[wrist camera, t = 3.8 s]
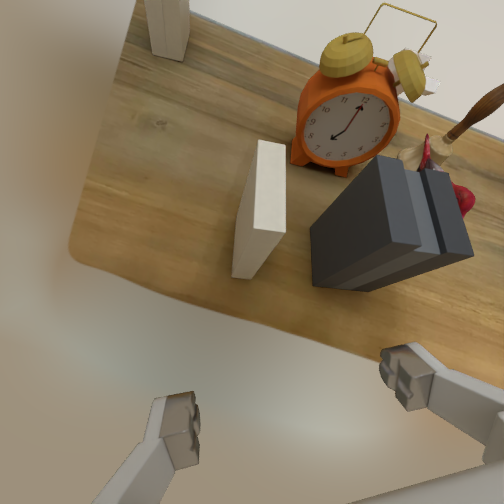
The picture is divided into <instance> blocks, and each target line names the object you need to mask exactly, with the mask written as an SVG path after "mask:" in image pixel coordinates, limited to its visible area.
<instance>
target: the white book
mask: <svg viewBox="0 0 504 504" xmlns="http://www.w3.org/2000/svg"><path fill="white" fill-rule="evenodd" d="M285 233H286V145H283V144H278V143H273V142H268V141H263V140H258V142H257V146H256V149H255V153H254V156H253V160H252V164H251V167H250V171H249V174H248V178H247V181H246V185H245V188H244V192H243V195H242V199H241V202H240V206H239V210H238V213H237V217H236V228H235V240H234V251H233V263H232V274H231V277H232V278H242V279H252V277H253V276H254V275H255V273H256V272H257V271H258V269H259V268H260V267H261V265H262V264H263V263H264V261H265V260H266V258H267V257H268V256H269V254H270V253H271V252H272V250H273V249H274V248H275V246H276V245H277V244H278V242H279V241H280V240H281V238H282V237H283V236H284V234H285Z"/></svg>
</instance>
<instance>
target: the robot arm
mask: <svg viewBox="0 0 504 504" xmlns="http://www.w3.org/2000/svg"><path fill="white" fill-rule="evenodd" d="M380 357H381V358H382V359H383V360H382V361H381V363H380V364H379V371H380V374H381V378H382V379H383V381H384V383H385V384H386V385H387V387H388V388H390V389H392V390H394V391H395V396H396V398H397V399H398V401H399V402H400V403H401V404H402V406H403V407H404V408H405V409H406V411H413V410H418V409H422V408H426V407H428V408H427V409H429V410H430V411H432V412H433V413H435V414H436V415H438V416H440V417H441V418H443V419H444V420H446V421H447V422H449V423H451V424H452V425H454V426H455V427H457V428H458V429H460V430H461V431H463V432H464V433H466V434H468V435H469V436H471V437H472V438H474V439H476V440H477V441H479V442H480V443H482V444H483V445H485V446H486V447H485V450H484V453H483V456H482V459H483V462H484V463H485V465H481V466H478V467H474V468H471V469H467V470H464V471H460V472H457V473H453V474H450V475H446V476H443V477H439V478H436V479H432V480H429V481H425V482H422V483H418V484H415V485H411V486H408V487H404V488H401V489H398V490H394V491H390V492H387V493H383V494H380V495H376V496H373V497H369V498H366V499H362V500H359V501H355V502H352V503H348V504H504V390H503V389H500V388H498V387H495V386H493V385H490V384H488V383H485V382H483V381H480V380H478V379H476V378H473V377H471V376H468V375H466V374H463V373H461V372H458V371H456V370H454V369H451V370H449V369H448V368H447V367H445V366H444V365H443V364H442V363H441V362H440V361H438V360H437V359H436V358H435V357H434V356H433V355H431V354H430V353H429V352H428V351H427V350H426V349H424V348H423V347H422V346H421V345H420V344H418V343H416V342H412V343H407V344H404V345H398V346H394V347H389V348H385V349H382V350H381V353H380ZM195 399H196V397H195V394H194V391H190V392H185V393H180V394H174V395H169V396H165V397H159V398H155V399H154V401H153V403H152V406H151V410H150V414H149V418H148V422H147V426H146V431H145V434H144V438H143V442H141V443H138V444H137V446H136V447H135V448H134V450H133V451H132V452H131V453H130V455H129V456H128V457H127V459H126V460H125V461H124V462H123V464H122V465H121V466H120V467H119V469H118V470H117V471H116V473H115V474H114V475H113V476H112V478H111V479H110V480H109V481H108V483H107V484H106V485H105V487H104V488H103V489H102V490H101V492H100V493H99V494H98V496H97V497H96V498H95V499H94V501H93V502H92V503H91V504H159V503H160V501H161V499H162V497H163V495H164V493H165V491H166V490H167V488H168V485H169V484H170V482H171V480H172V478H173V476H174V474H175V471H176V470H179V469H183V468H186V467H190V466H193V465H197V464H199V446H200V444H199V441H198V437H197V436H198V435H199V433H200V413H199V408H198V405H197V404H195Z"/></svg>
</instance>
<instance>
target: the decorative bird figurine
mask: <svg viewBox="0 0 504 504" xmlns="http://www.w3.org/2000/svg"><path fill="white" fill-rule="evenodd" d="M424 168H427V169H432V170H436V171H441V172H444V171H443V169H442V168H441V167H440V166H439V165H438V164H437V163H435V162H434V161H433V160H431V157H430V145H429V136H428V134H427V135H426V138H425V144H424V149H423V156H422V160H421V163H420V164H419V167H418V169H417V171H416V172H420V171H422V170H423V169H424ZM451 183H452V186H453V189H454V192H455V195H456V199H457V202H458V205H459V208H460V211H461V214H462V218H464V216H465V214H466V213H467V212H468V211H469V210H470V209H471V208H472V207H473V206H474V203H475V196H474V194H473V193H472V192H471V191H469V190H468V189H467V188H465V187H463V186H458V185H455V184H454V183H453V182H452V181H451Z"/></svg>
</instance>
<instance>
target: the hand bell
mask: <svg viewBox="0 0 504 504" xmlns="http://www.w3.org/2000/svg"><path fill="white" fill-rule="evenodd" d="M503 103H504V84H502V85H500V86H498V87H497V88H495V89H493V90H492V91H490V92H489V93H487V94H486V95H485V96H483V98H481V99H480V100H479V101H478V102H477V103H476V104H475V105H474V107H472V109H471V110H470V111H469V112H468V114H467V115H466V117H465V118H464V119H463V120H462V121H461V122H460V123H459V124H457V125H456V126H455V127H454V128H453V129H452V130H450V131H449V132H448V133H447V134H446V135H445V136H443V137H442V136H432V137H430V138H429V145H430V157H431V160H433V161H434V162H435V163H437V164H438V165H439V166H441V164H442V163H443V162H444V161H445V160H446V159H447V158H448V157H449V156H450V155H451V154H452V152H453V147H452V145H451V143H452V142H454V141H455V140H456V139H457V138H458V137H459V136H460V135H461V134H462V133H464V132H465V131H466V130H467V129H468V128H469V127H470V126H472V125H473V124H475V123H477V122H479V121H481V120H482V119H484V118H486V117H487V116H489V115H490V114H492V113H493V112H494V111H495V110H496V109H498V108H499V107H500V106H501V105H502V104H503ZM424 144H425V142H424V143H422V144H421V145H419V146H417V147H414V148H406V149H404V150H402V151H401V152H400V153H399V154H398V157H397V159H400V160H402V161H403V165H404V169H407V170H412V171H417V169H418V167H419V164H420V163H421V160H422V156H423V149H424Z"/></svg>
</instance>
